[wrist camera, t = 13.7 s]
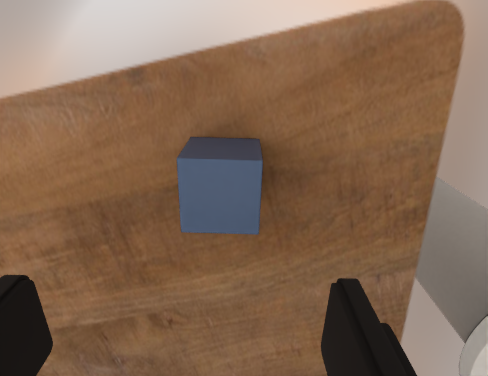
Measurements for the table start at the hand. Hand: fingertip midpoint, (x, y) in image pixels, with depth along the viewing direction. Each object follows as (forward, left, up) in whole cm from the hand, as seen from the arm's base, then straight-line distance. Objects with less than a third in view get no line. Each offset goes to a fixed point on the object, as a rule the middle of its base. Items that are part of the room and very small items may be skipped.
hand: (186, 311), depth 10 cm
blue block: (0, 0, -13) cm, 13 cm away
